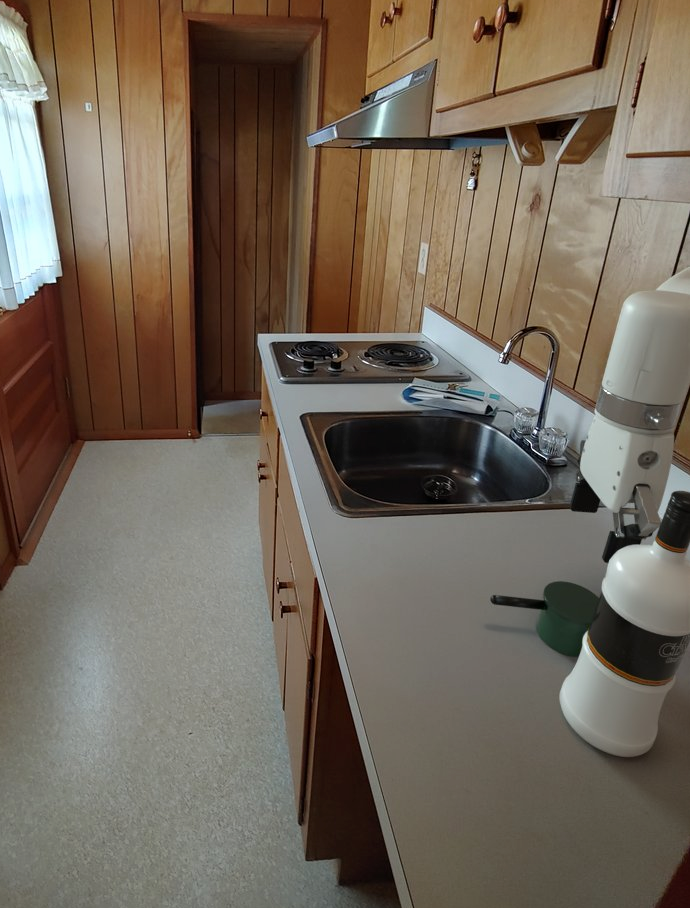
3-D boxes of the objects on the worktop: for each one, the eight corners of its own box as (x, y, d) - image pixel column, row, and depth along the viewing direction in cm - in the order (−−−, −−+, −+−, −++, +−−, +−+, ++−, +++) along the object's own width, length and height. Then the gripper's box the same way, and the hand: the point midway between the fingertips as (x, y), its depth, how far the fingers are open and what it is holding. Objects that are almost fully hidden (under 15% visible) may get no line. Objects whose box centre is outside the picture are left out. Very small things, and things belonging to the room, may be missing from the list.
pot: (581, 618, 76) (592, 584, 73) (604, 661, 69) (617, 626, 67) (478, 606, 77) (485, 573, 75) (490, 648, 71) (499, 613, 68)
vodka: (569, 670, 68) (639, 459, 56) (657, 716, 62) (756, 494, 51) (547, 724, 61) (622, 498, 49) (644, 781, 56) (754, 542, 44)
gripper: (724, 447, 51) (670, 589, 58) (635, 378, 67) (601, 496, 74) (638, 443, 52) (595, 582, 59) (570, 375, 68) (542, 492, 75)
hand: (598, 534), depth 67 cm, fingers open, 9 cm apart
